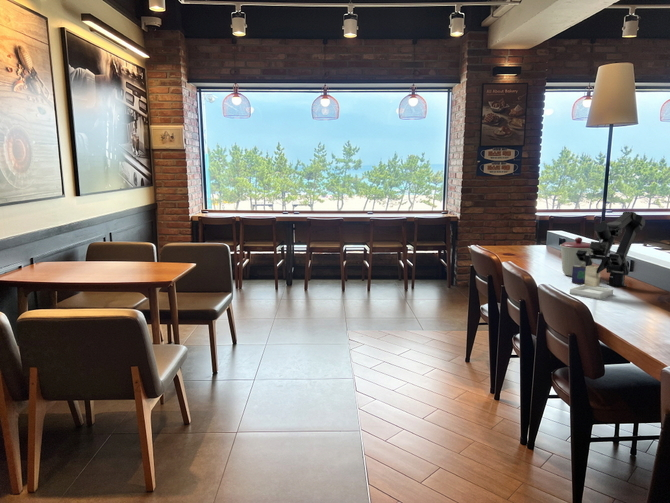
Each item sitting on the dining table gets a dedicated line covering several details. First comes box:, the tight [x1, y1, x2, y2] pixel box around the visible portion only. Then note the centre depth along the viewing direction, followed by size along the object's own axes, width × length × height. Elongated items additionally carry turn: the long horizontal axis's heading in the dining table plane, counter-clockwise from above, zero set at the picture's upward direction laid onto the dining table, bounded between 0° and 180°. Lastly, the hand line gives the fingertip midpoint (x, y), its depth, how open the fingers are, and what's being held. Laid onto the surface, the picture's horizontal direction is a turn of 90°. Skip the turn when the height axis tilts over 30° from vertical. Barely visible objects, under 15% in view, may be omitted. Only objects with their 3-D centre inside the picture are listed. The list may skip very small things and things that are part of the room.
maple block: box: [585, 264, 601, 287], centre depth 218 cm, size 5×5×9 cm
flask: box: [571, 263, 586, 285], centre depth 240 cm, size 9×3×11 cm, turn 78°
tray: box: [569, 284, 614, 301], centre depth 219 cm, size 13×13×2 cm
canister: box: [559, 237, 594, 277], centre depth 258 cm, size 18×18×21 cm
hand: (591, 272), depth 217 cm, fingers closed on maple block, 5 cm apart
